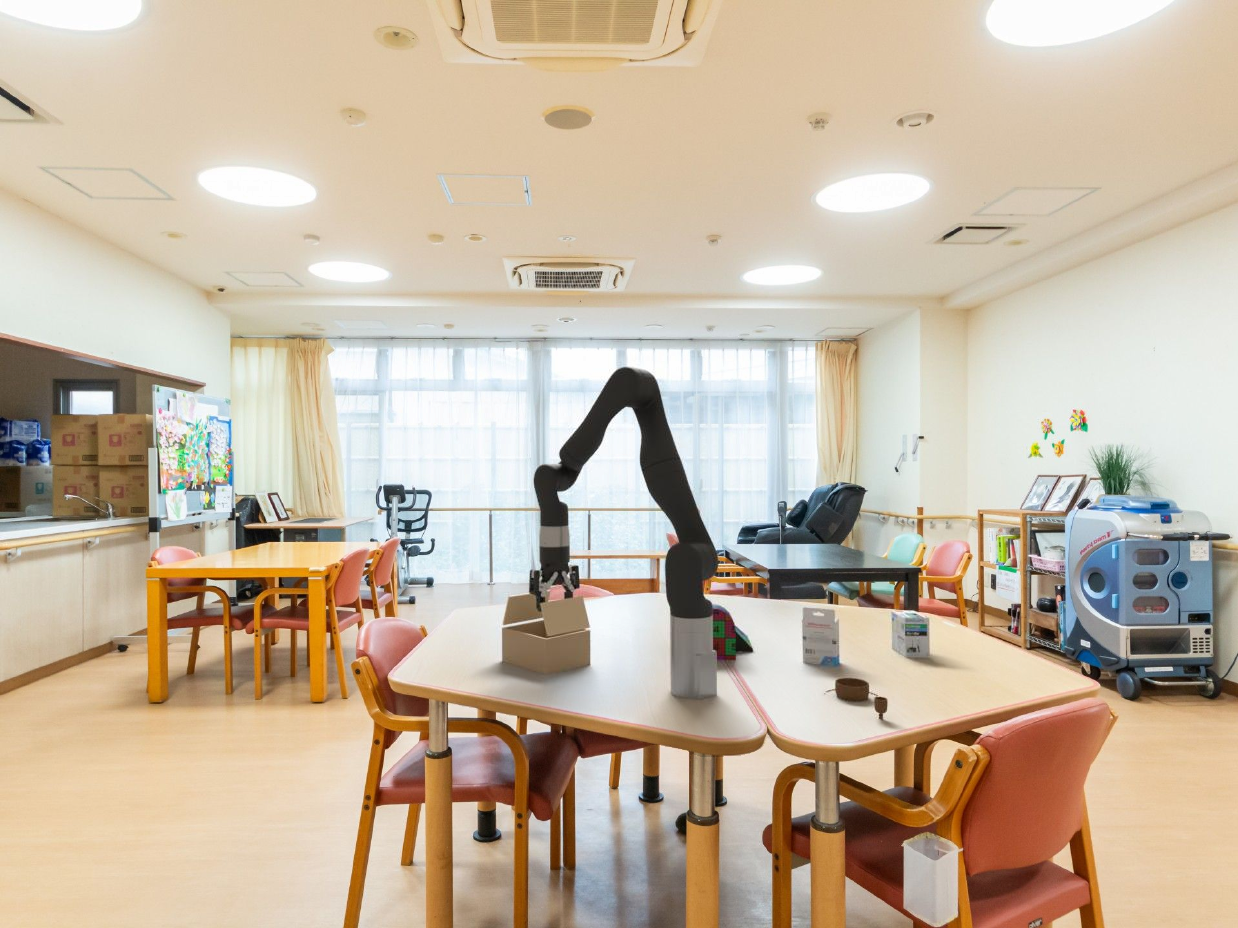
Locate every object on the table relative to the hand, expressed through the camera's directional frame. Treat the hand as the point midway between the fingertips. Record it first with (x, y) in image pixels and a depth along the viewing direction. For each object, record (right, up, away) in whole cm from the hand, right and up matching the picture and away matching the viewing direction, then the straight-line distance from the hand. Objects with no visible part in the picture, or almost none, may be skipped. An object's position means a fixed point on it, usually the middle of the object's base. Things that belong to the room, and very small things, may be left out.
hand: (555, 609), depth 182 cm
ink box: (+67, -15, +5) cm, 69 cm away
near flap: (+3, -1, -3) cm, 4 cm away
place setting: (+64, -16, -29) cm, 72 cm away
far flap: (-8, -1, +8) cm, 11 cm away
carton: (-3, -15, +3) cm, 16 cm away
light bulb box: (+95, -15, +16) cm, 97 cm away
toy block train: (+44, -16, +20) cm, 51 cm away
